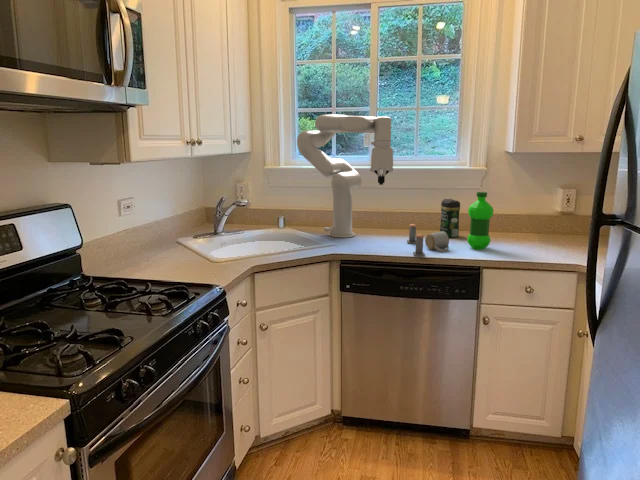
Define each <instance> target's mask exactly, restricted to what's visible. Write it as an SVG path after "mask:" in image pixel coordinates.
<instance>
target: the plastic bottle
mask: <svg viewBox="0 0 640 480" xmlns="http://www.w3.org/2000/svg"><path fill="white" fill-rule="evenodd" d="M476 197H477V200H476V201H474V202H473V203H471V204H470V205H469V207H468V209H467V213H468V216H469V218H470V222H469V223H470V225H469V234H468V235H467V239H466V241H467V243H468V244H469V246H470V247H471V249H472V250H476V251H477V250H485V249H486V248H487V247H488V246H489V245H490V243H491V236H490V234H489V233H490V221H491V220H490V219H491V218H492V217H493V216H494V208H493V206H492V205H491V204H490V203H489V202H488V201H487V200H486V198H487V197H488V192H487V191H477V192H476Z"/></svg>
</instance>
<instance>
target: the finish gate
mask: <svg viewBox="0 0 640 480" xmlns="http://www.w3.org/2000/svg"><path fill="white" fill-rule="evenodd" d="M408 235H409V237H408V239H406V242H407V244H408V245H409V244H414V245H415V251H413V252H412V255H413V254H414V255H413V256H414V257H425V256H426V254H425V252H424V234H417V224H416V223H415V224H414V223H410V224H409V234H408Z"/></svg>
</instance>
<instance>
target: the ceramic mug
mask: <svg viewBox="0 0 640 480" xmlns="http://www.w3.org/2000/svg"><path fill="white" fill-rule="evenodd" d="M424 239H425V240H424V241H425V242H424V243H425V246H426V248H427V249H429V250H433V251H434V250H436V251H438V252H442V253H446V252H448V251H449V244H450V237H448V235H447V234H446V233H445V232H444V231H441V232H440V231H437V232H432V233H431V232H430V233H429V234H426V237H425V238H424Z"/></svg>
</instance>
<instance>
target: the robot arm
mask: <svg viewBox="0 0 640 480" xmlns="http://www.w3.org/2000/svg"><path fill="white" fill-rule="evenodd" d="M314 124H315V128H316V129H317V130H315V129H314V130H313V129H312V130H311V129H310V130H309V129H307V130H303V131H301V132H300V133H299V134H298V136H297V139H296V145H297V149H298V152H299V153H300V155H301V156H302V157H303V158H305V160H306V161H308V162H309V163H310V164H311V165H312V166H313V167H314V169H316V170H317V171H318V172H319V173H321V175H322V176H324V177H325V178H329V179H330V178H331V182H330V183H331V184H330V185H331V191H332V210H333V211H332V226H330V227H329V226H326V227H324V229H323V231H324V232H328V233H329V232H330V233H329V236H331V237H333V238H339V239H340V238H342V239H343V238H346V239H348V238H353V237H355V236H356V233H355V232H354V231H353V197H352V193H351V191H355V190H357V189H360V187H361V186H362V184H363V180H362V176H361V175H360V172H358V171H357V170H356V169H355V168H354V167H352V165H350V164H349V162H347V161H346V160H344V159H343V158H340V157H339V158H338V157H337V158H335V157H333V158H332V157H329V156H328V155H327V154H326V153H325V152H324V151H323V150H321V149H320V148H321V147H324V146H326V145H327V144H328V143H329V142H330V141H331V139H332V138H333V137H334V136H335V135H336V134H345V133H352V134H356V133H357V134H374V135H373V136H374V137H373V139H374V140H373V141H371V142H370V145H372V149H371V156H370V170H369V171H370V172H371V173H375V174H376V175H377V184H379V186H383V185H384V184H385V183H386V182H385V180H386V179H385V177H386V176H387V174H388V173H393V172H394V151H393V147H391V144H392V143H391V141H392V118H391V117H389V116H377V117H376V116H369V115H368V116H367V115H364V116H363V115H346V114H320V115H318V116H317V117H316V119H315V120H314ZM380 170H381V171H382V174H381V171H380Z"/></svg>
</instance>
